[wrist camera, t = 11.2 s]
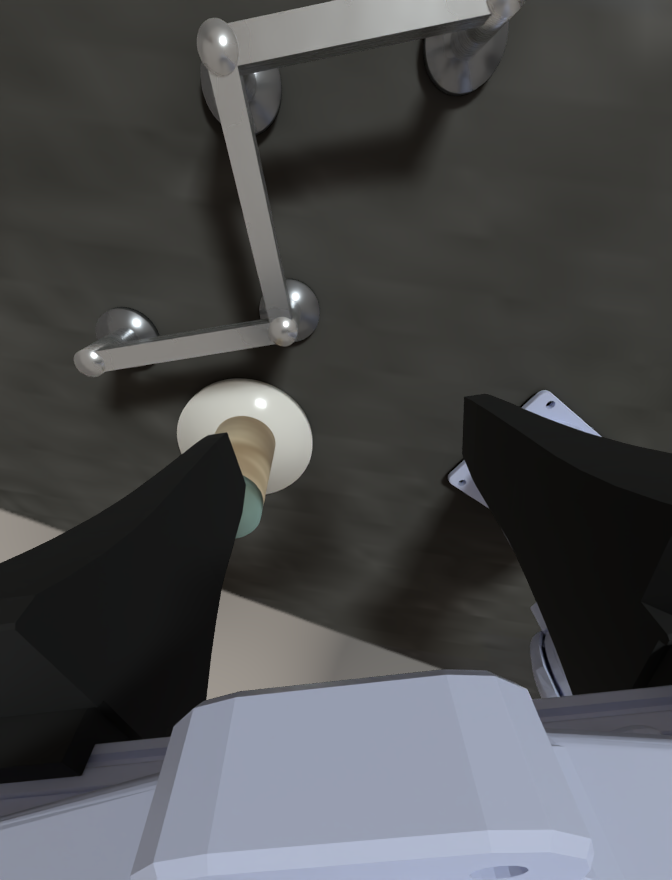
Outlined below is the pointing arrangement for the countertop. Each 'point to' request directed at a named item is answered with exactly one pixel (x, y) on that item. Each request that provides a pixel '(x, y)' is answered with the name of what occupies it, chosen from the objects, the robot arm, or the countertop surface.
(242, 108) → the wire course
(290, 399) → the white flat disc
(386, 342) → the countertop surface
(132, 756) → the robot arm
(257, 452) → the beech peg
